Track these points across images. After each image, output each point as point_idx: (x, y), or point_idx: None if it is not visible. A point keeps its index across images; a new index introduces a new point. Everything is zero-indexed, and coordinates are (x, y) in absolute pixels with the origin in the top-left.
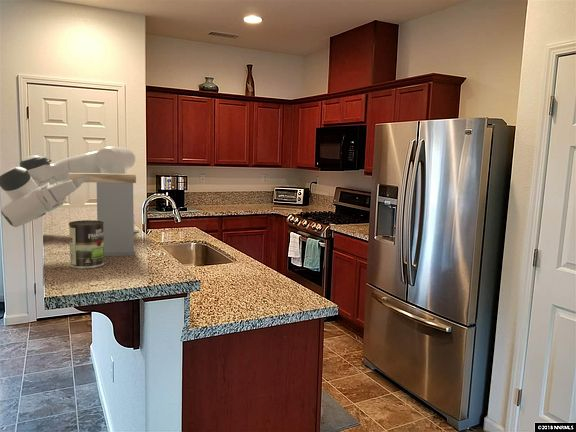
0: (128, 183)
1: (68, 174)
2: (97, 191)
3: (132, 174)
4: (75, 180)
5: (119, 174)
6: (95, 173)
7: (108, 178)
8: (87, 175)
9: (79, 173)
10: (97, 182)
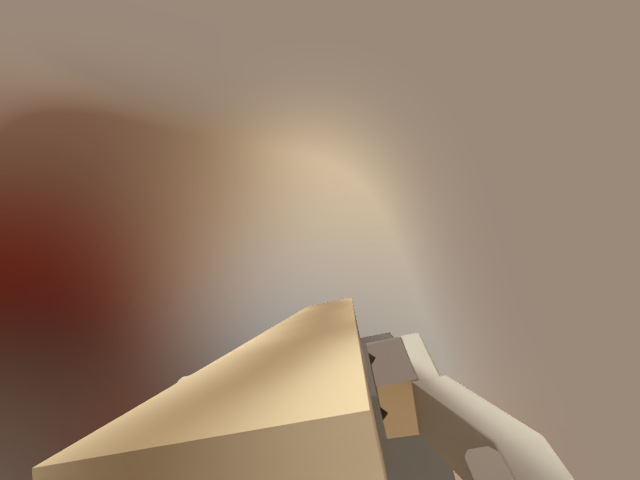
0: (392, 337)
1: (374, 452)
2: (452, 469)
3: (340, 300)
4: (561, 466)
5: (351, 302)
6: (281, 329)
7: (359, 337)
8: (360, 346)
9: (331, 346)
10: (371, 394)
